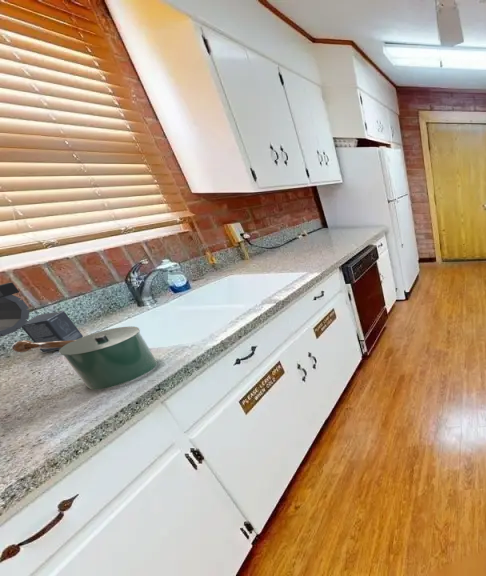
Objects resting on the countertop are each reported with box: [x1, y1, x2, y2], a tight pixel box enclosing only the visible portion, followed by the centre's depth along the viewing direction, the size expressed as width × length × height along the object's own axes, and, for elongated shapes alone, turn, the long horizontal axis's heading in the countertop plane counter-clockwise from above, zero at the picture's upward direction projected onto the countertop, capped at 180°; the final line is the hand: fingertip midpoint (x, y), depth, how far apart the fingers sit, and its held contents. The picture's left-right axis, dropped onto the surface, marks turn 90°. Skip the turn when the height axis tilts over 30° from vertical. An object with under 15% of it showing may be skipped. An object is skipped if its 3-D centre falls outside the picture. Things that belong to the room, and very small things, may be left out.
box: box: [21, 310, 84, 353], centre depth 96 cm, size 8×6×11 cm
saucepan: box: [11, 326, 158, 391], centre depth 82 cm, size 27×14×13 cm, turn 97°
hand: (0, 287), depth 74 cm, fingers closed on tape, 5 cm apart
